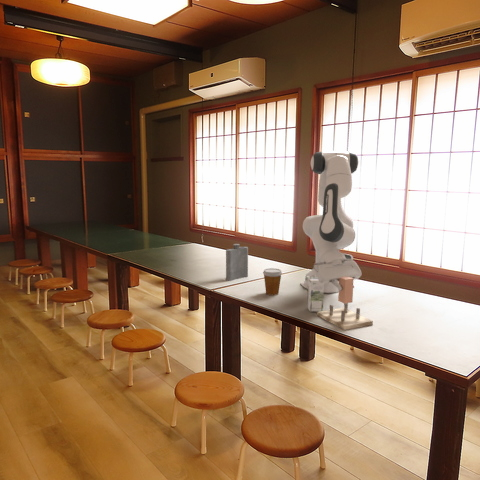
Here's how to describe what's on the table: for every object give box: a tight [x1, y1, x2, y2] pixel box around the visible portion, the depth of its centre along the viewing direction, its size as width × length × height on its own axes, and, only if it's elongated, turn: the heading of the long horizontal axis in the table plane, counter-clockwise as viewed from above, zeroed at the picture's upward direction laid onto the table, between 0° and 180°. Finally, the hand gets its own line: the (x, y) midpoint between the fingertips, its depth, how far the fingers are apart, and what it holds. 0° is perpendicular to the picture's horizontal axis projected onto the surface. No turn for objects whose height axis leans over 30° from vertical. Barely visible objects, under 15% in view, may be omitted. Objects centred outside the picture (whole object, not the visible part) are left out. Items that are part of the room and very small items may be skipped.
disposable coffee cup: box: [262, 267, 283, 296], centre depth 204 cm, size 10×10×12 cm
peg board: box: [316, 303, 374, 331], centre depth 168 cm, size 18×14×6 cm
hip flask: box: [225, 243, 249, 282], centre depth 233 cm, size 16×4×20 cm, turn 133°
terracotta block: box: [337, 277, 354, 304], centre depth 166 cm, size 4×4×10 cm
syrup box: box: [307, 277, 325, 313], centre depth 179 cm, size 6×6×14 cm
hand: (346, 289), depth 166 cm, fingers closed on terracotta block, 4 cm apart
